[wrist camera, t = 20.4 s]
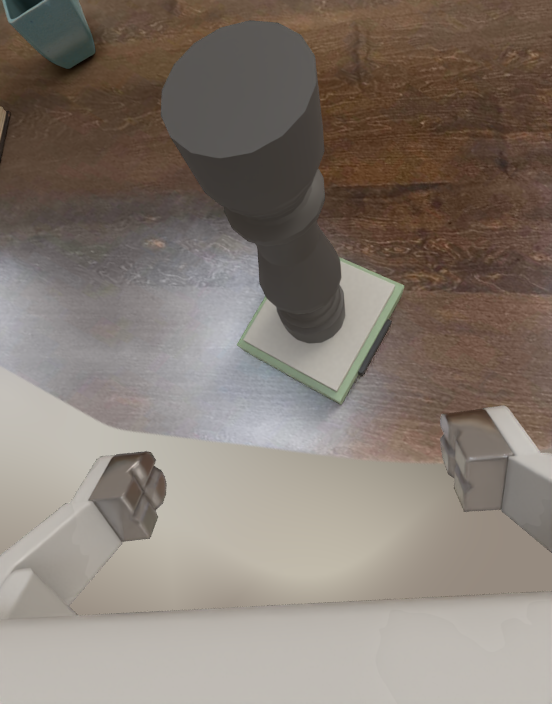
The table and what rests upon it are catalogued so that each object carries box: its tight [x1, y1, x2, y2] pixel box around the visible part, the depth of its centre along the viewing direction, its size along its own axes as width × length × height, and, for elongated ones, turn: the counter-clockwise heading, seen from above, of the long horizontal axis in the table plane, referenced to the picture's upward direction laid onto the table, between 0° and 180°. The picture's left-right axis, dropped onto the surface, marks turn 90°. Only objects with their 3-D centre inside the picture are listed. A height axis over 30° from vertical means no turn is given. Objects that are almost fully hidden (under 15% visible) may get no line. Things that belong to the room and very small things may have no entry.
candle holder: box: [161, 21, 345, 343], centre depth 25 cm, size 6×6×25 cm
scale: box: [237, 257, 404, 405], centre depth 39 cm, size 13×12×4 cm
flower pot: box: [2, 0, 95, 69], centre depth 54 cm, size 9×9×9 cm
